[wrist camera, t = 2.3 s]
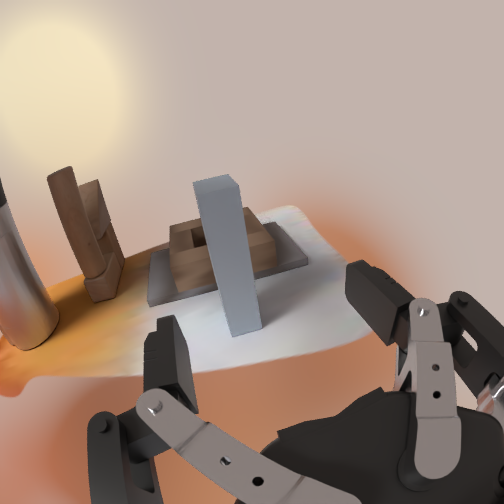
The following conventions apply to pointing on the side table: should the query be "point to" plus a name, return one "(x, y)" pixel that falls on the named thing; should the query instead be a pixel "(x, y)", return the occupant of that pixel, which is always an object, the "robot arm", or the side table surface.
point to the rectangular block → (229, 251)
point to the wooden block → (88, 232)
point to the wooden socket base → (199, 263)
